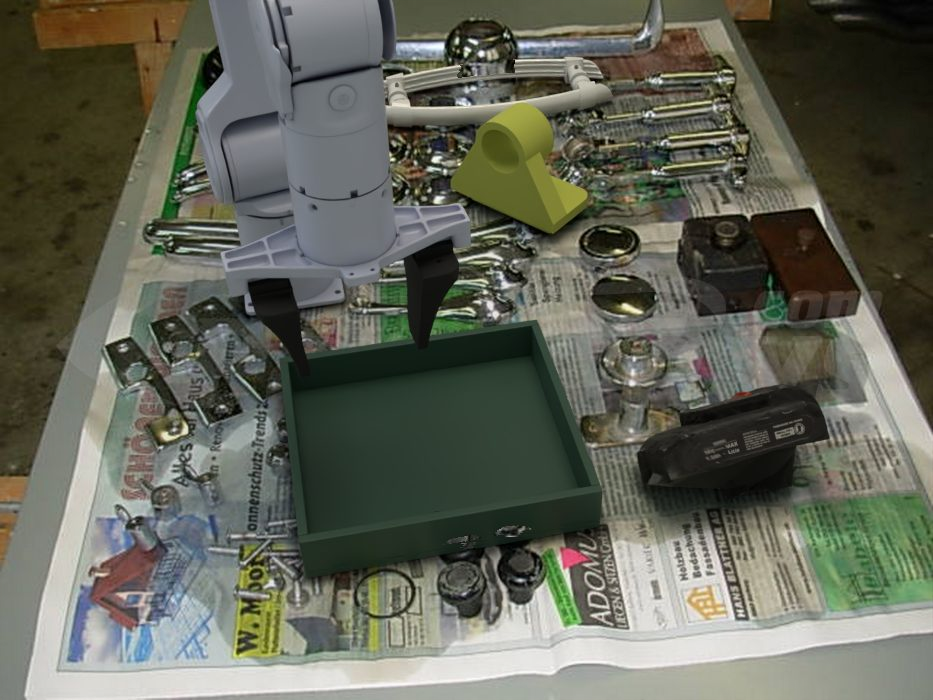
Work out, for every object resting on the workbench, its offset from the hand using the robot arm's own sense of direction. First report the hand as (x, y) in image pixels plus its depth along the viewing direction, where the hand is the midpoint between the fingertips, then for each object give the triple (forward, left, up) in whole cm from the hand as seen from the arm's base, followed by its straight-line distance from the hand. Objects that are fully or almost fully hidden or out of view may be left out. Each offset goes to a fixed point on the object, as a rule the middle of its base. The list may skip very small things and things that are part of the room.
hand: (361, 352), depth 71 cm
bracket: (-27, +17, -10) cm, 34 cm away
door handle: (-46, +18, -10) cm, 51 cm away
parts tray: (+1, +4, -10) cm, 11 cm away
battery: (+7, +23, -10) cm, 26 cm away
